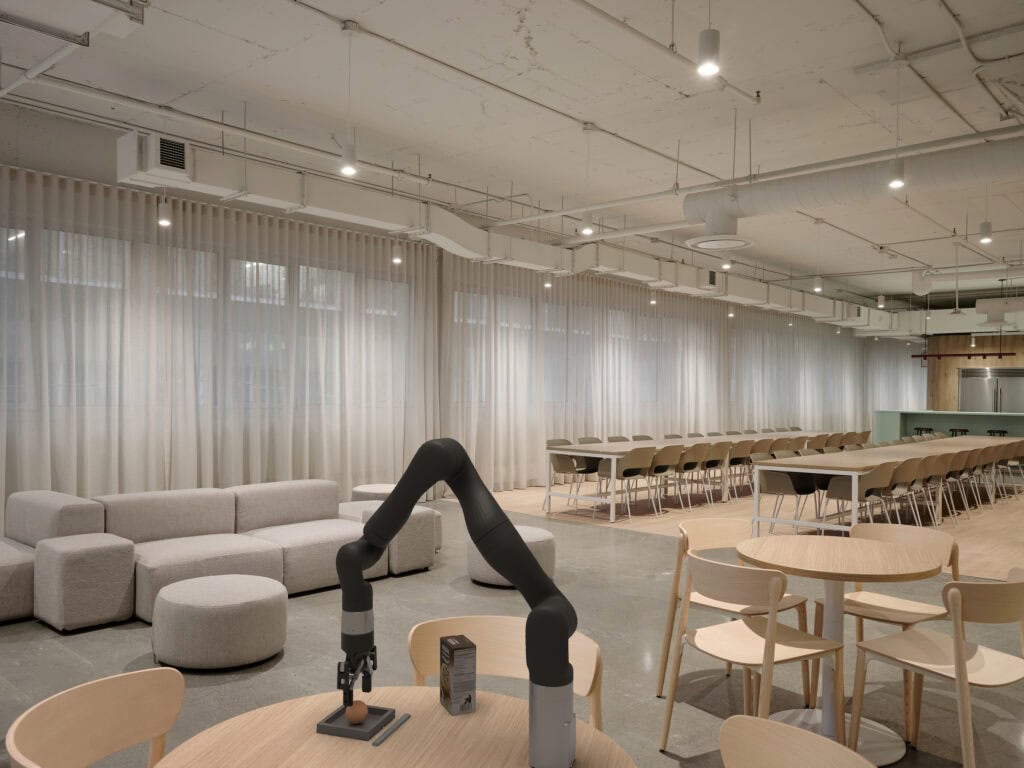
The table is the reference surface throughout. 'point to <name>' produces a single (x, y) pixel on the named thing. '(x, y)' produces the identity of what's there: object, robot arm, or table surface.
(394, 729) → the distance line
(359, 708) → the ball
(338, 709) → the tray
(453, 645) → the coffee box
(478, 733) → the table surface
